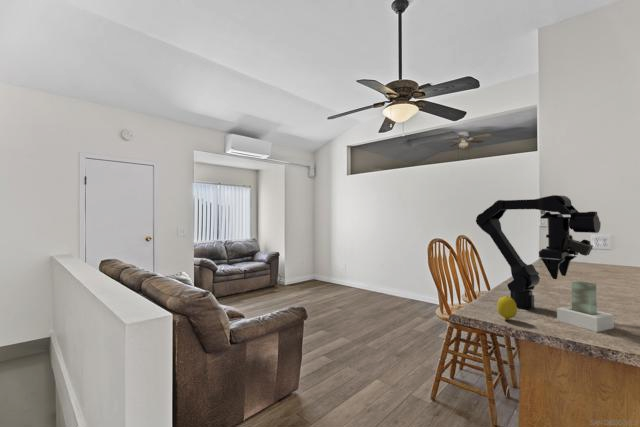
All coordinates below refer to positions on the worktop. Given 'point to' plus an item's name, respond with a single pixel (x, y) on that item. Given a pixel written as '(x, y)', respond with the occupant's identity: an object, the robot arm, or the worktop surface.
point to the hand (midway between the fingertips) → (559, 277)
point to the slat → (584, 297)
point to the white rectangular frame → (586, 319)
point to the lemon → (507, 307)
